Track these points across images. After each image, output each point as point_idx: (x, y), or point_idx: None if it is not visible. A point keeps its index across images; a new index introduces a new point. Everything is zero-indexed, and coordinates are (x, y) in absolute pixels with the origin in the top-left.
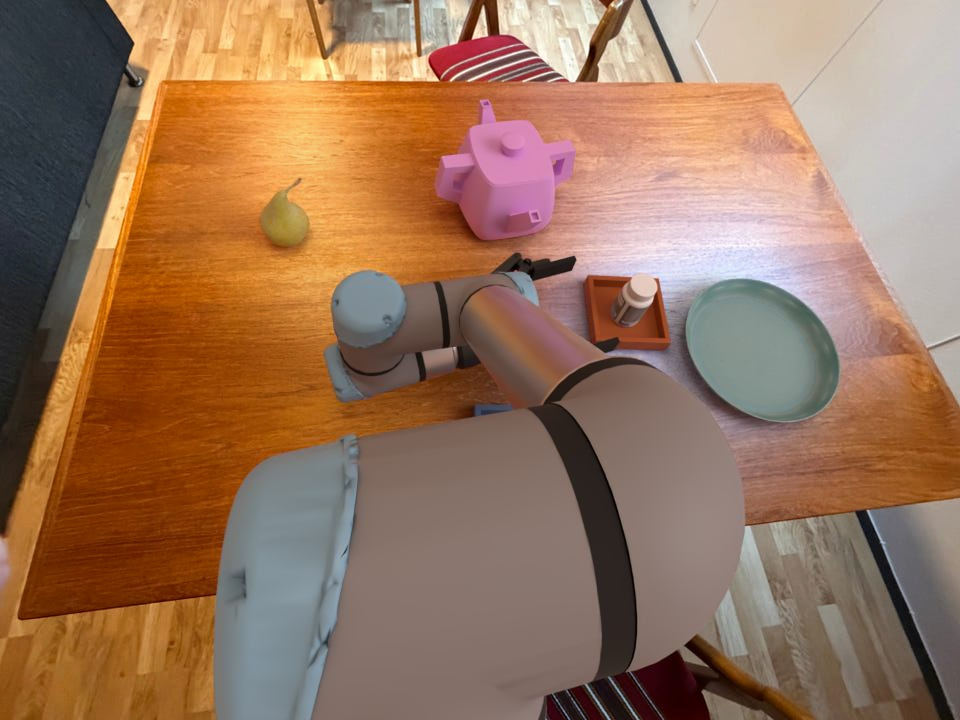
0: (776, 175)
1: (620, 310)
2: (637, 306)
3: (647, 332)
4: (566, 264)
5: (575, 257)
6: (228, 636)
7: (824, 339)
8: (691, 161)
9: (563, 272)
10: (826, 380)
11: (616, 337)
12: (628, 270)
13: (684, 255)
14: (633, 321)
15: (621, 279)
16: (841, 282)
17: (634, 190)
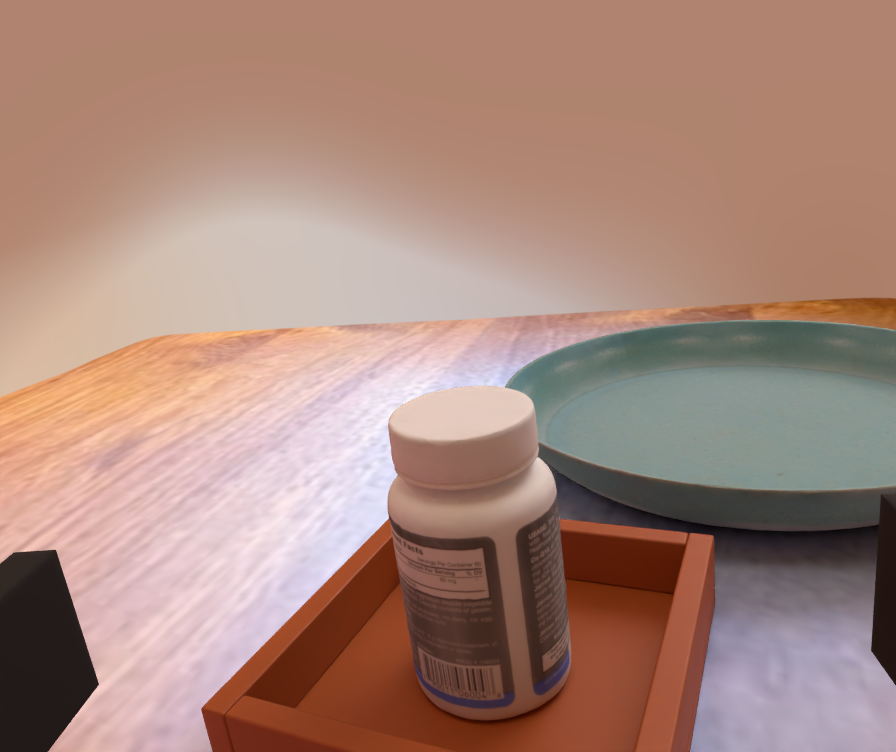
0: (297, 351)
1: (500, 619)
2: (542, 501)
3: (616, 617)
4: (7, 637)
5: (33, 552)
6: None
7: (723, 336)
8: (140, 417)
9: (48, 740)
10: (843, 352)
11: (894, 499)
12: (300, 599)
13: (358, 474)
14: (567, 614)
15: (331, 593)
16: (571, 334)
17: (71, 509)
